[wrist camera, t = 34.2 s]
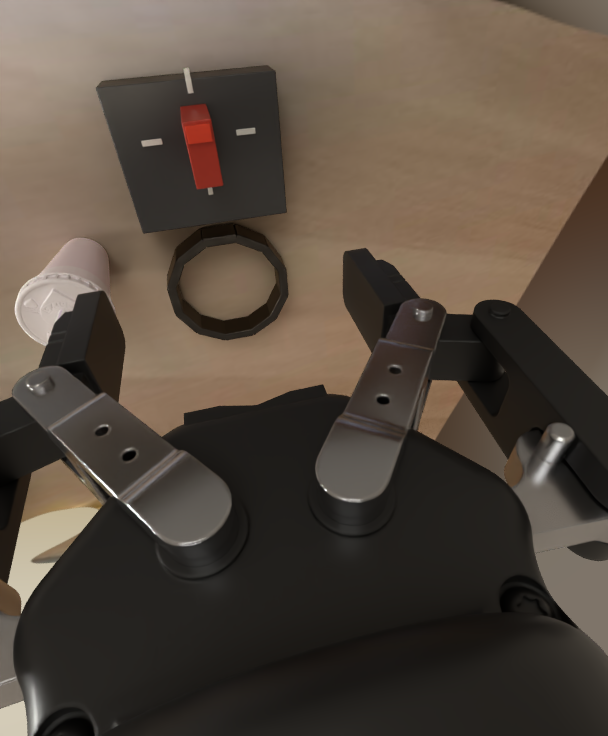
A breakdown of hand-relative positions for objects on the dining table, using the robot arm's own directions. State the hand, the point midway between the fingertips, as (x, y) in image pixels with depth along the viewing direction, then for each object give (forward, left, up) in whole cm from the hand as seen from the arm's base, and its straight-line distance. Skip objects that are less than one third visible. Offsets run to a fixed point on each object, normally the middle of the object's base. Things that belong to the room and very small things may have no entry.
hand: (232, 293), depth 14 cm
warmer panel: (-2, 0, -25) cm, 25 cm away
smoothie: (-9, +12, -25) cm, 29 cm away
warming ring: (-14, 0, -25) cm, 29 cm away
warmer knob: (0, 0, -22) cm, 22 cm away
